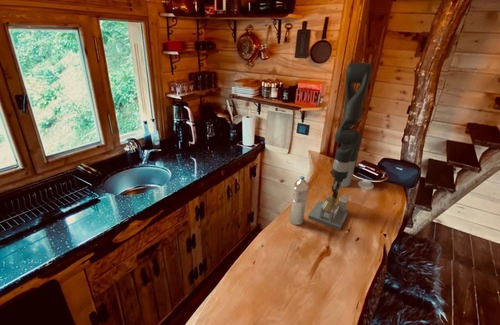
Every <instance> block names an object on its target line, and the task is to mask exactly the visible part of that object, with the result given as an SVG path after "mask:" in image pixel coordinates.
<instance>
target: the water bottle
mask: <svg viewBox="0 0 500 325" xmlns="http://www.w3.org/2000/svg"><path fill="white" fill-rule="evenodd" d="M305 178H306V177H305V176H303V175H302V176H300V178H299V179H297V180H296V181H295V182H294V183H293V192H292V198H291V205H290V212H289V221H290V223H291V224H292V225H295V226H300V225H303V224H304V220H305V214H306V213H305V212H306V207H307V201H308V199H307V198H308V193H309V188H310V185H309V183H308V181H306V180H305Z"/></svg>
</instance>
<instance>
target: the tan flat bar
mask: <svg viewBox="0 0 500 325" xmlns="http://www.w3.org/2000/svg"><path fill="white" fill-rule="evenodd" d="M338 197H339V196H337V198H335V197H333V195H331V196H330V200H329V202H328V204H327V205H326V207H325V209H324V212H327V213H330V212H331V210H332V208H333V207H334V205H335V204H336V203H337V201H338V200H339V198H338ZM335 206H336V205H335Z"/></svg>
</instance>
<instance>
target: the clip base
mask: <svg viewBox="0 0 500 325" xmlns="http://www.w3.org/2000/svg"><path fill="white" fill-rule="evenodd" d="M331 197H332V195H331V194H328V195H327V197H326V200H325V201H321V200H318V201H317V203H316V204H315V206H314V207H313V208H312V209H311V211H310V213H308V216H307V219H308V220H311V221H314V222H317V223H319V224H321V225H323V226H327V227H330V228H332V229H335V230H337V231H341V229H342V227H343V225H344V223H345V221H346V219H347V217H348V215H349V211H350V210H348V209H347V206H348V203H349V200H348V201H347V203H344V202H341V201H339V200H337V201H338V202H337V204H336V203H335V205H334V207H333V208H332V210H331V212H330V213H327V212H324V209H325V207H326V205H327V204H328V202H329V200H330V199H331Z"/></svg>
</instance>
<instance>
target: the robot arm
mask: <svg viewBox="0 0 500 325" xmlns="http://www.w3.org/2000/svg"><path fill="white" fill-rule="evenodd" d="M372 68H373V67H372V64H371V63H369V62H350V63H348V65H346V69H345V98H344V106H343V117H342V120H341V123H340V125H339V127H338V129H337V131H336V133H335V135H334V139H335V142H336V143H338V144H340V146H339V147H338V148H336V152H335V157H334V160H333V165H332V170H331V176H332V177H333V178H334V179H333V181H332V186H331V192H332V196H333V197H335V198H337V197H339V196H338V195H339V191H340V189H341V188H342V187H343V188H346V187H348V188H349V187H350V186H351V184H352V180H353V179H352V178H353V176H354V175H353V174H354V170H355V166H356V162H357V158H358V153H359V149H360V147H361V146H360V145H361V144H362V143H361V142H362V139H363V138H362V134H360V131H359V130H357V129H352V126H356V125H358V123H359V120H360V119H361V117H362V116H363V109H364V105H363V104H364V103H363V102H364V99H365V96H366V94H367V90H368V87H369V84H370V80H371V76H372ZM354 84H360V86H359V88H358V90H357V91H356V89H355V86H354Z"/></svg>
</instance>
